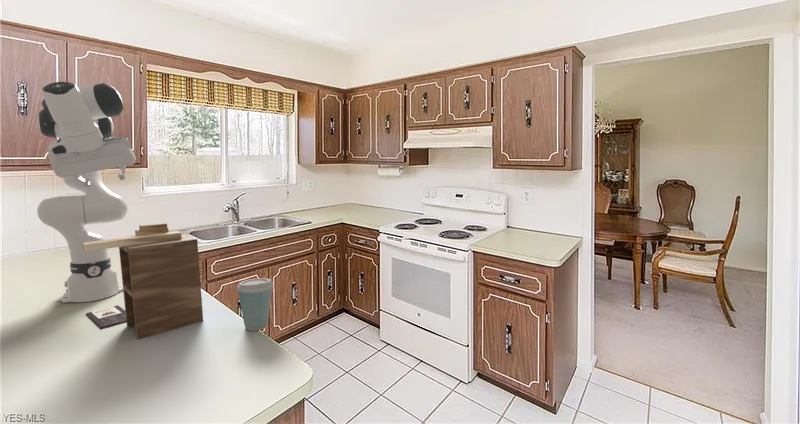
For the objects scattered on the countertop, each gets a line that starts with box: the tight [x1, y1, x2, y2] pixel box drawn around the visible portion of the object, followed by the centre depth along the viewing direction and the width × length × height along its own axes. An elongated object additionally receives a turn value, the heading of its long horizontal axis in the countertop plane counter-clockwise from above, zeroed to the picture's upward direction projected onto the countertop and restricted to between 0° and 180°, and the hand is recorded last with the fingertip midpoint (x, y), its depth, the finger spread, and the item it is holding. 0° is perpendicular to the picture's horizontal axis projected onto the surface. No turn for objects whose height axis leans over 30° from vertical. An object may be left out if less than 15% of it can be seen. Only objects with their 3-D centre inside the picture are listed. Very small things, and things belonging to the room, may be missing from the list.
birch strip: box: [82, 230, 182, 251], centre depth 113 cm, size 4×24×2 cm, turn 137°
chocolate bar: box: [85, 305, 127, 330], centre depth 126 cm, size 9×1×18 cm
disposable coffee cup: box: [236, 277, 274, 331], centre depth 118 cm, size 11×11×15 cm
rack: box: [118, 222, 204, 340], centre depth 119 cm, size 13×18×32 cm
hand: (105, 182), depth 119 cm, fingers open, 8 cm apart
